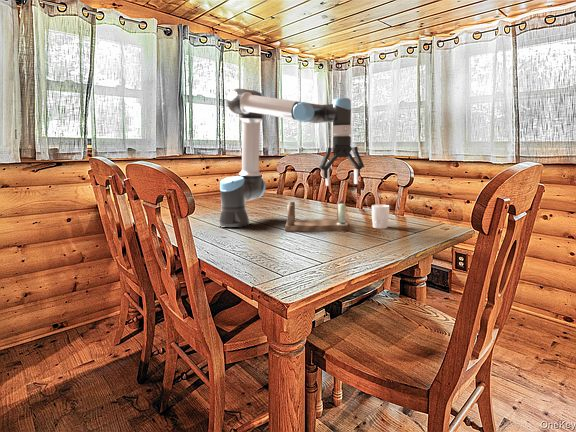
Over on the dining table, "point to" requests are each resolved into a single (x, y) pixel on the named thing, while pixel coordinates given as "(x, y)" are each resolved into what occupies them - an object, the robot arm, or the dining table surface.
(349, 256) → the dining table surface
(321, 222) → the wooden peg stand
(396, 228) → the dining table surface
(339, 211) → the hinged leg
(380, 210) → the white cup
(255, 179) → the robot arm
